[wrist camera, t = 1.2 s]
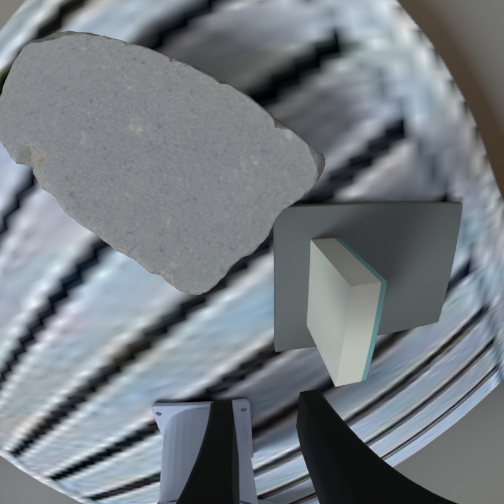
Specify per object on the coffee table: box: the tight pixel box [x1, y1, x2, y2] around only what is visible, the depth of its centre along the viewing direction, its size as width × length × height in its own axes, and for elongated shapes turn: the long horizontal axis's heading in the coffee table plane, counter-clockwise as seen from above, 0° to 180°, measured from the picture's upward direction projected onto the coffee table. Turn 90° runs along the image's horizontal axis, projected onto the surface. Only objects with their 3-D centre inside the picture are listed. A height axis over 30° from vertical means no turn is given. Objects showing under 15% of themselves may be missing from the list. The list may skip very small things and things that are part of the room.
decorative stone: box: [0, 31, 325, 295], centre depth 13 cm, size 15×7×10 cm
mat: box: [273, 202, 462, 352], centre depth 20 cm, size 10×14×1 cm
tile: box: [307, 238, 387, 387], centre depth 17 cm, size 6×2×6 cm, turn 2°
